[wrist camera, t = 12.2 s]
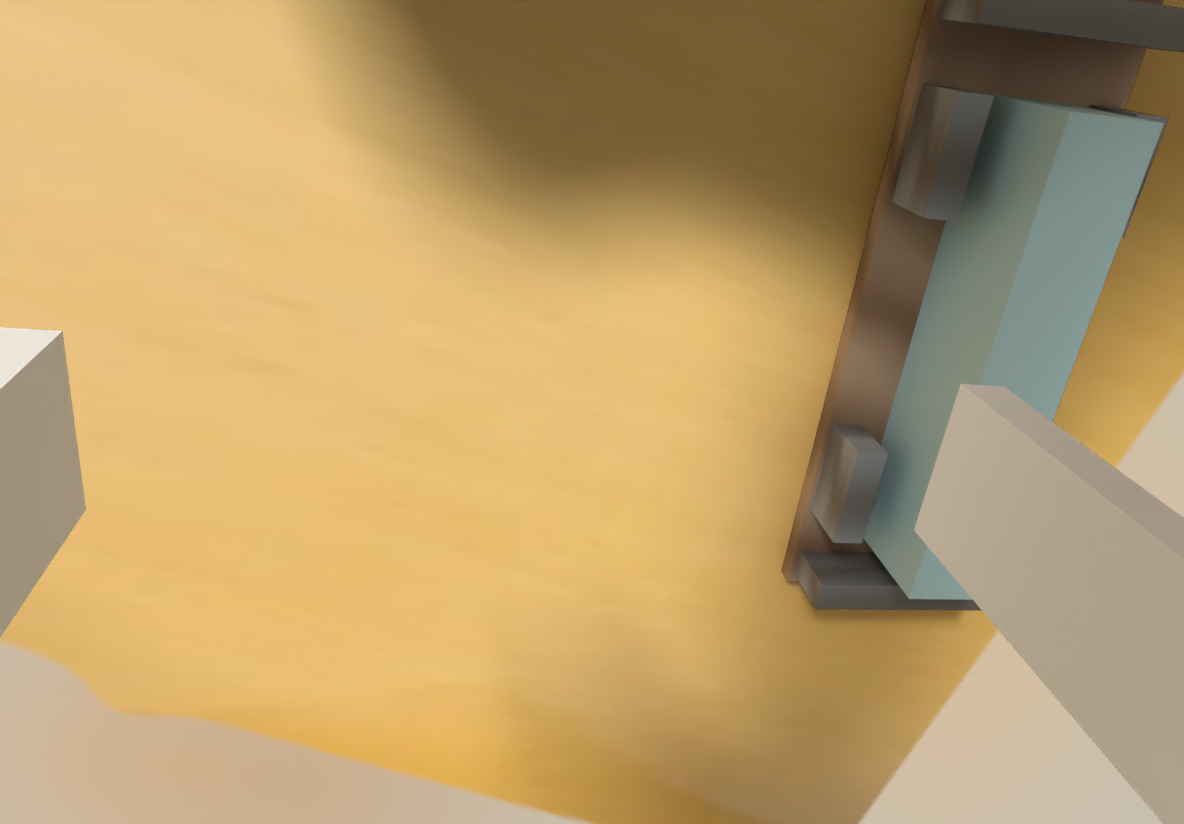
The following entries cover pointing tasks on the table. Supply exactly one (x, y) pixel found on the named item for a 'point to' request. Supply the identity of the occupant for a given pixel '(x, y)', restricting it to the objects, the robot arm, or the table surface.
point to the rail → (1006, 295)
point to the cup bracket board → (912, 235)
